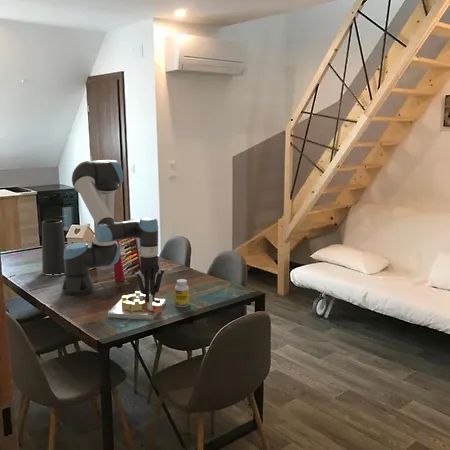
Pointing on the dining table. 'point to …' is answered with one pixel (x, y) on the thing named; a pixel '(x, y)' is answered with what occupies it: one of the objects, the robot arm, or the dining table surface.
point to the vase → (53, 247)
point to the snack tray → (138, 303)
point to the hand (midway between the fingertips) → (150, 309)
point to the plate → (140, 314)
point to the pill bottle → (181, 293)
